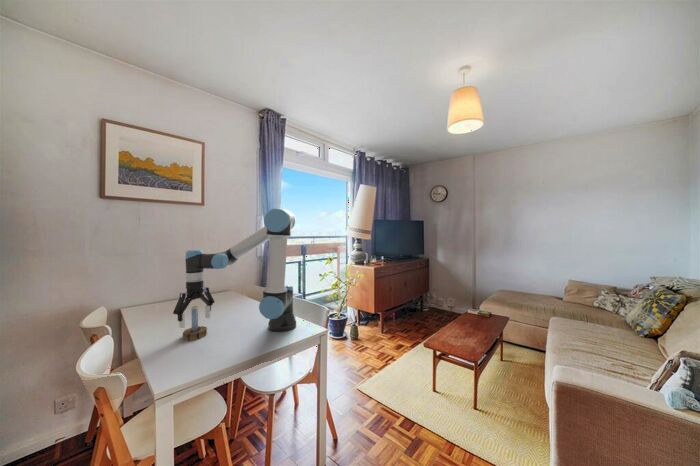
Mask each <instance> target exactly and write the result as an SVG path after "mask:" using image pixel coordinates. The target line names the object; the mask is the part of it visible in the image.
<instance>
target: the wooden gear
mask: <svg viewBox="0 0 700 466" xmlns="http://www.w3.org/2000/svg"><path fill="white" fill-rule="evenodd" d="M207 334H208V327H206V326H203V325H202V326H201V325H198V331H197V332H192V327H189V328H187V329H185V330H183V332H182V340H184V341H195V340H201V339H202V338H205V337H206V336H207Z"/></svg>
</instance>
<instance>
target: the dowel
mask: <svg viewBox="0 0 700 466" xmlns="http://www.w3.org/2000/svg"><path fill="white" fill-rule="evenodd" d="M198 326H199V307H198V305H193V306H192V307H191V328H192V332H197V331H198Z"/></svg>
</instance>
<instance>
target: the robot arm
mask: <svg viewBox="0 0 700 466" xmlns="http://www.w3.org/2000/svg"><path fill="white" fill-rule="evenodd" d="M296 221H297V220H296V216H295V214H294V213H293V212H292V211H290V210H288V209H285V208H282V207H275V208H271V209H269V210H268V211H267V212H266V213H265V215H264V218H263V223H264V226H263V227H262V228H260V229H258V230H257V231H255V232H254V233H252V234H250V235H249V236H247V237H246V238H244V239H242V240H241V241H239V242H238V243H236V244H234V245H232V246H231V247H230V248H228V249H227V250H225V251H221V252H216V253H204V250H203V249H190V250H189V249H188V250H187V251H186V252H185V281H186V282H185V289H186V291H185V292H180V293H179V296H178V297H179V298H178V300H177V303H176V305H175V306H174V309H173V312H172V314H174V315H177V322H178V324H179V325H178V327H179V328H181V329H185V325H186V324H185V311H186V309H187V308H188V306H189V305H190V303H191V302H192V301H194V300H197V299H198V300H199V299H200V300H201V301H203V303H204V304H205V305H204V316H205V318H206V319H211V311H212V306H213V304H215V300H214V297H213V296H212V294H211V292H210V288H209V287H206V286H205V287H204V285H205V284H204V278H205V276H204V270H212V269H213V270H214V269H215V270H216V269H217V270H220V269H221V270H222V269H226V267H228V266H231V265H232V264H235V263H236V262H237V261H238V260H239V259H241V258H243V257H244V256H246V255H247V254H249V253H251V252H252V251H254V250H256V249H257V248H259V247H260V246H262V245H264V244H265V243H266V242H268V241H269V242H268V256H267V257H268V258H267V274H266V275H267V276H266V277H267V278H266V286H265V287H264V288H263V289H262V299H261V300H260V302H259V305H258V310H259V313H260V314H261V315H262V316H263V317H264V318H266V319H267V320H269V321H268V325H267V326H268V330H269V331H271V332H276V333H278V332H280V333H281V332H283V333H284V332H288V331H290V330H293V329H295V328H296V327H297V319H296V317H295V314H294V288H293V287H294V286H293V285H291V284H285V283H286V282H285V281H286V268H287V250H288V239H289V238H290V237H291V234H292V233H291V232H292V230H293V228H294V227H295V225H296ZM203 293H204V294H203Z"/></svg>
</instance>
